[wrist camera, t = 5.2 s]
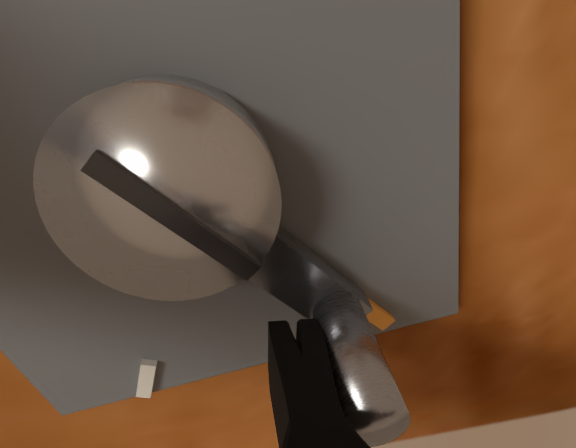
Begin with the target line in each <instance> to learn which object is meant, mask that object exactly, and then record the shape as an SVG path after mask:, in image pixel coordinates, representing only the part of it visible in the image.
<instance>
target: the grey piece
mask: <svg viewBox="0 0 576 448" xmlns="http://www.w3.org/2000/svg"><path fill="white" fill-rule="evenodd" d="M33 189H34V195H35V201H36V205H37V208H38V211H39V214H40V217H41V219H42V221H43V223H44V226H45V228H46V230H47V232H48V233H49V235H50V236H51V238H52V239H53V241H54V242H55V244H56V245H57V246H58V247H59V249H60V250H61V251H62V252H63V253H64V255H65V256H66V257H67V258H68V259H70V260H71V261H72V262H73V263H74V264H75V265H76V266H77V267H78V268H80V269H81V270H82V271H84V272H85V273H86V274H88V275H89V276H91V277H92V278H94V279H96V280H97V281H99V282H100V283H102V284H104V285H107V286H109V287H111V288H113V289H115V290H118V291H120V292H123V293H126V294H129V295H133V296H136V297H140V298H145V299H152V300H160V301H185V300H192V299H198V298H202V297H206V296H210V295H213V294H216V293H218V292H221V291H223V290H225V289H227V288H229V287H231V286H233V285H235V284H237V283H238V282H240V281H241V280H243V279H245V280H246V281H248V280H250V281H252V282H253V283H255V284H256V285H258V286H259V287H261V288H262V289H264V290H265V291H267V292H268V293H270V294H271V295H273V296H274V297H276V298H277V299H279V300H280V301H282V302H283V303H285V304H286V305H288V306H289V307H291V308H292V309H294V310H295V311H297V312H298V313H300V314H301V315H303V316H304V317H306V318H307V319H312V318H317V320H318V321H319V323H320V325H321V328H322V330H323V333H324V336H325V340H326V345H327V350H328V354H329V359H330V364H331V368H332V373H333V378H334V383H335V387H336V391H337V394H338V398H339V401H340V404H341V407H342V410H343V413H344V416H345V418H346V420H347V421H348V422H349V423H350V425H351V426H352V427H353V428H354V429H355V431H356V432H357V433H358V434H359V435H360V437H361V438H362V439H363V440H364V441H365V442H366V443H367V444H368V445H369V446H370V447H374V446H379V445H383V444H386V443H388V442H391V441H393V440H394V439H396V438H398V437H399V436H400V435H402V434H403V433H404V432H405V431H406V429H407V428H408V426H409V424H410V420H411V418H410V414H409V411H408V409H407V407H406V405H405V402H404V400H403V398H402V396H401V393H400V391H399V389H398V386H397V384H396V382H395V380H394V377H393V375H392V373H391V371H390V368H389V366H388V364H387V361H386V359H385V357H384V355H383V352H382V350H381V348H380V346H379V343H378V341H377V339H376V336H375V334H374V332H373V330H372V327H371V325H370V323H369V321H368V318H367V316H366V315H368V314H369V313H370V312H371V311H373V308H372V306H371V304H370V302H369V300H368V298H367V296H366V293H365V292H364V291H363V290H361V289H360V288H359V287H357V286H356V285H355V284H354V283H352V282H351V281H350V280H349V279H347V278H346V277H345V276H343V275H342V274H341V273H340V272H338V271H337V270H336V269H335V268H333V267H332V266H331V265H329V264H328V263H327V262H326V261H324V260H323V259H322V258H321V257H319V256H318V255H317V254H315V253H314V252H313V251H312V250H310V249H309V248H308V247H307V246H305V245H304V244H303V243H301V242H300V241H299V240H298V239H296V238H295V237H294V236H293V235H291V234H290V233H289V232H287V231H286V230H285V229H284V228H282V227H281V226H280V225H279V224H280V219H281V207H282V200H281V190H280V185H279V180H278V176H277V172H276V168H275V164H274V160H273V156H272V152H271V149H270V146H269V144H268V141H267V139H266V137H265V135H264V134H263V132H262V130H261V128H260V127H259V125H258V124H257V123H256V121H255V120H254V119H253V117H252V116H251V115H250V114H249V113H248V112H247V111H246V110H245V109H244V108H243V107H242V106H241V105H240V104H239V103H238V102H236V101H235V100H234V99H233V98H231V97H230V96H228V95H227V94H225V93H224V92H222V91H220V90H219V89H217V88H215V87H213V86H210V85H208V84H206V83H204V82H201V81H198V80H194V79H191V78H187V77H181V76H175V75H151V76H142V77H138V78H135V79H131V80H127V81H124V82H121V83H119V84H116V85H113V86H110V87H107V88H104V89H101V90H99V91H96V92H94V93H92V94H89V95H87V96H85V97H83V98H82V99H80V100H78V101H77V102H75V103H74V104H72V105H70V106H69V107H68V108H67V109H66V110H65V111H64V112H62V113H61V114H60V115H59V116H58V117H57V118H56V120H55V121H54V122H53V123H52V125H51V126H50V127H49V128H48V130H47V132H46V134H45V135H44V137H43V139H42V141H41V143H40V146H39V149H38V151H37V154H36V157H35V164H34V170H33Z"/></svg>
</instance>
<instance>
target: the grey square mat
mask: <svg viewBox="0 0 576 448" xmlns="http://www.w3.org/2000/svg"><path fill="white" fill-rule="evenodd" d="M151 75H175V76H181V77H187V78H191V79H194V80H198V81H201V82H204V83H206V84H208V85H210V86H213V87H215V88H217V89H219V90H220V91H222V92H224V93H225V94H227V95H228V96H230V97H231V98H233V99H234V100H235V101H236V102H238V103H239V104H240V105H241V106H242V107H243V108H244V109H245V110H246V111H247V112H248V113H249V114H250V115H251V116H252V117H253V119H254V120H255V121H256V123H257V124H258V125H259V127H260V128H261V130H262V132H263V134H264V135H265V137H266V139H267V141H268V144H269V146H270V149H271V152H272V156H273V160H274V164H275V168H276V172H277V176H278V180H279V185H280V190H281V200H282V207H281V219H280V224H279V225H280V226H281V227H282V228H284V229H285V230H286V231H287V232H289V233H290V234H291V235H293V236H294V237H295V238H296V239H298V240H299V241H300V242H301V243H303V244H304V245H305V246H307V247H308V248H309V249H310V250H312V251H313V252H314V253H315V254H317V255H318V256H319V257H321V258H322V259H323V260H324V261H326V262H327V263H328V264H329V265H331V266H332V267H333V268H335V269H336V270H337V271H338V272H340V273H341V274H342V275H343V276H345V277H346V278H347V279H349V280H350V281H351V282H352V283H354V284H355V285H356V286H357V287H359V288H360V289H361V290H363V291H364V292H365V293H366V296H367V298H368V300H369V302H370V304H371V306H372V308H373V311H371V312H370V313H369V314H368V315H366V316H367V318H368V321H369V323H370V325H371V327H372V330H373V332H374V334H379V333H383V332H387V331H391V330H395V329H398V328H402V327H406V326H410V325H414V324H418V323H422V322H426V321H429V320H433V319H437V318H441V317H445V316H449V315H453V314H456V313H458V289H459V95H460V0H0V350H1V351H2V352H3V353H4V354H5V355H6V356H7V358H8V359H9V360H10V361H11V362H12V363H13V364H14V365H15V366H16V367H17V368H18V369H19V370H20V371H21V372H22V374H23V375H24V376H25V377H26V378H27V379H28V380H29V381H30V382H31V383H32V384H33V385H34V386H35V387H36V388H37V390H38V391H39V392H40V393H41V394H42V395H43V396H44V397H45V398H46V399H47V400H48V401H49V402H50V403H51V404H52V405H53V407H54V408H55V409H56V410H57V411H58V412H59V413H60V414H61V415H66V414H70V413H73V412H77V411H81V410H85V409H89V408H93V407H97V406H100V405H104V404H108V403H112V402H116V401H120V400H124V399H128V398H131V397H135V396H136V397H143V398H151V394H152V392H155V391H159V390H162V389H166V388H170V387H174V386H178V385H182V384H186V383H189V382H193V381H197V380H201V379H205V378H209V377H213V376H217V375H220V374H224V373H228V372H232V371H236V370H240V369H244V368H248V367H251V366H255V365H259V364H263V363H267V362H268V321H282V320H286V321H287V322H288V323H289V325H290V328H291V330H292V333H293V335H294V337H295V339H296V328H297V321H299V320H300V319H307V318H306V317H304V316H303V315H301V314H300V313H298V312H297V311H295V310H294V309H292V308H291V307H289V306H288V305H286V304H285V303H283V302H282V301H280V300H279V299H277V298H276V297H274V296H273V295H271V294H270V293H268V292H267V291H265V290H264V289H262V288H261V287H259V286H258V285H256V284H255V283H253V282H252V281H250V280H248V281H246V280H245V279H243V280H241V281H240V282H238V283H237V284H235V285H233V286H231V287H229V288H227V289H225V290H223V291H221V292H218V293H216V294H213V295H210V296H206V297H202V298H198V299H192V300H185V301H160V300H152V299H145V298H140V297H136V296H133V295H129V294H126V293H123V292H120V291H118V290H115V289H113V288H111V287H109V286H107V285H104V284H102V283H100V282H99V281H97V280H96V279H94V278H92V277H91V276H89V275H88V274H86V273H85V272H84V271H82V270H81V269H80V268H78V267H77V266H76V265H75V264H74V263H73V262H72V261H71V260H70V259H68V258H67V257H66V256H65V255H64V253H63V252H62V251H61V250H60V249H59V247H58V246H57V245H56V244H55V242H54V241H53V239H52V238H51V236H50V235H49V233H48V232H47V230H46V228H45V226H44V223H43V221H42V219H41V217H40V214H39V211H38V208H37V205H36V201H35V195H34V189H33V170H34V164H35V157H36V154H37V151H38V149H39V146H40V143H41V141H42V139H43V137H44V135H45V134H46V132H47V130H48V128H49V127H50V126H51V125H52V123H53V122H54V121H55V120H56V118H57V117H58V116H59V115H60V114H61V113H62V112H64V111H65V110H66V109H67V108H68V107H69V106H70V105H72V104H74V103H75V102H77V101H78V100H80V99H82V98H83V97H85V96H87V95H89V94H92V93H94V92H96V91H99V90H101V89H104V88H107V87H110V86H113V85H116V84H119V83H121V82H124V81H127V80H131V79H135V78H138V77H142V76H151Z"/></svg>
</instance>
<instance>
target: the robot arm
mask: <svg viewBox="0 0 576 448" xmlns="http://www.w3.org/2000/svg"><path fill="white" fill-rule="evenodd" d="M268 370H269V385H270V395H271V401H272V407H273V413H274V419H275V425H276V431H277V437H278V443H279V448H370V446H369V445H368V444H367V443H366V442H365V441H364V440H363V439H362V438H361V437H360V435H359V434H358V433H357V432H356V431H355V429H354V428H353V427H352V426H351V425H350V423H349V422H348V421H347V420H346V418H345V416H344V413H343V410H342V407H341V404H340V401H339V398H338V394H337V391H336V387H335V383H334V378H333V373H332V368H331V364H330V359H329V354H328V350H327V345H326V340H325V336H324V333H323V330H322V328H321V325H320V323H319V321H318V320H317V318H312V319H300V320H299V321H297V328H296V339H295V337H294V335H293V333H292V330H291V328H290V325H289V323H288V322H287V321H286V320H282V321H268Z"/></svg>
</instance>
